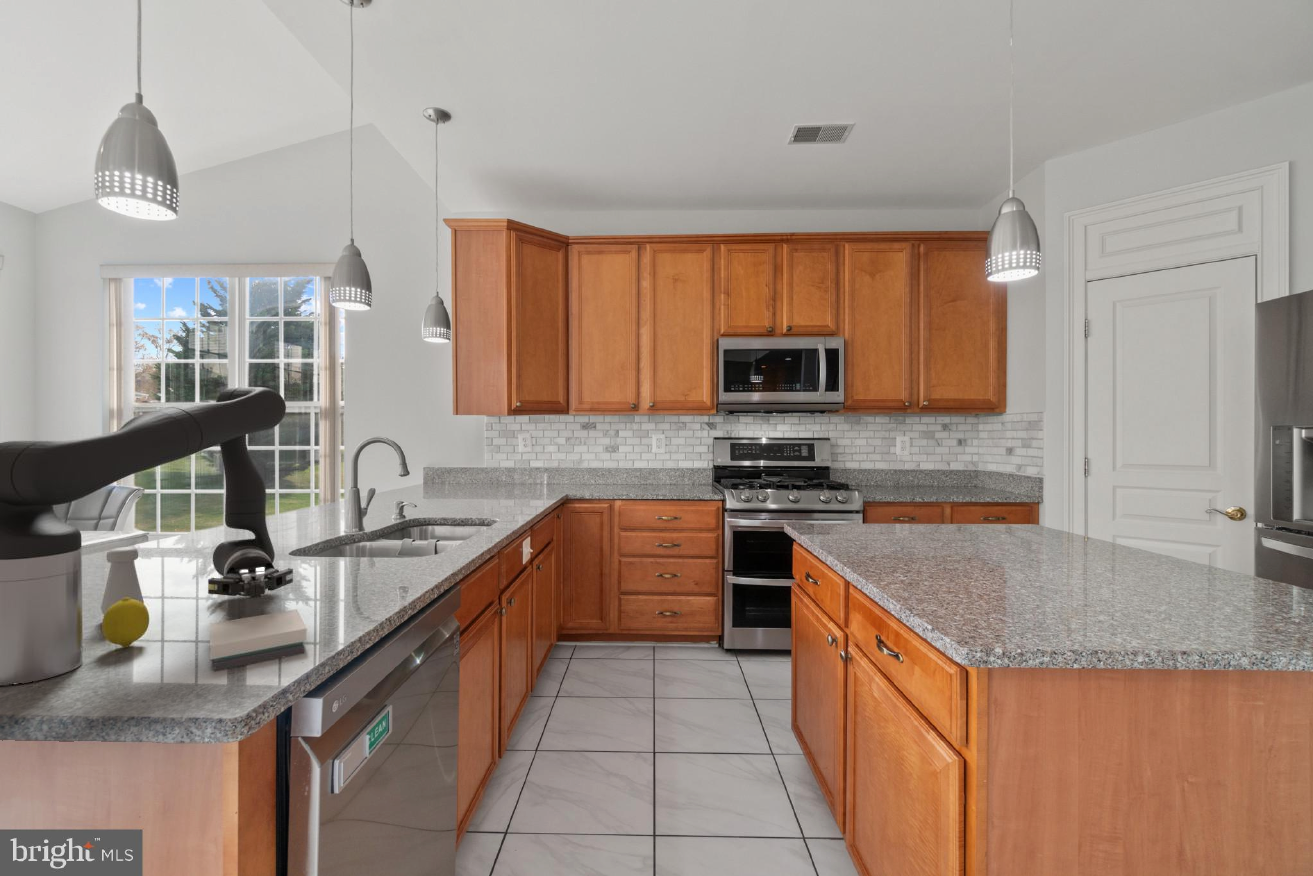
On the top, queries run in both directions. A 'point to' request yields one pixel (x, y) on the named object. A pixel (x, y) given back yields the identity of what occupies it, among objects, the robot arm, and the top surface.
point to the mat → (258, 657)
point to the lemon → (125, 622)
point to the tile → (256, 634)
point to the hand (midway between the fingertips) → (255, 591)
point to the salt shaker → (121, 577)
